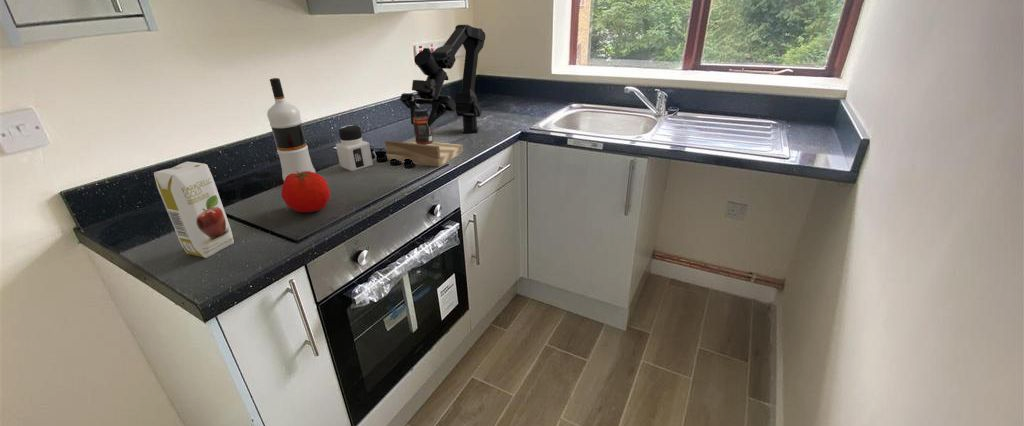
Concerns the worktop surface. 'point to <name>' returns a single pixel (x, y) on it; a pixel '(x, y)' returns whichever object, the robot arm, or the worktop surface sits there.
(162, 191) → the juice carton
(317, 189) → the tomato
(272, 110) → the vodka
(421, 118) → the supplement bottle
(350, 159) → the container
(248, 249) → the worktop surface
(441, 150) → the wooden block
